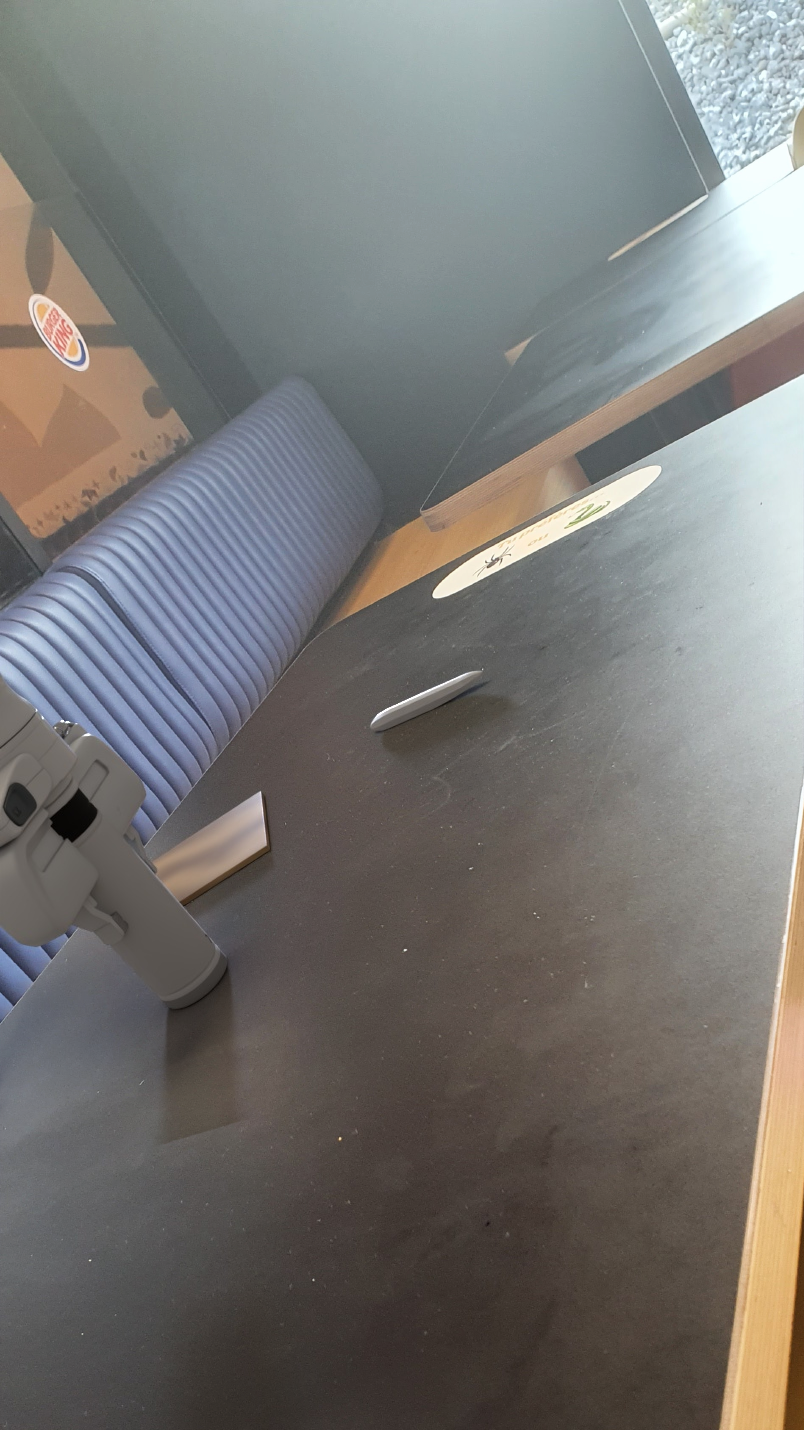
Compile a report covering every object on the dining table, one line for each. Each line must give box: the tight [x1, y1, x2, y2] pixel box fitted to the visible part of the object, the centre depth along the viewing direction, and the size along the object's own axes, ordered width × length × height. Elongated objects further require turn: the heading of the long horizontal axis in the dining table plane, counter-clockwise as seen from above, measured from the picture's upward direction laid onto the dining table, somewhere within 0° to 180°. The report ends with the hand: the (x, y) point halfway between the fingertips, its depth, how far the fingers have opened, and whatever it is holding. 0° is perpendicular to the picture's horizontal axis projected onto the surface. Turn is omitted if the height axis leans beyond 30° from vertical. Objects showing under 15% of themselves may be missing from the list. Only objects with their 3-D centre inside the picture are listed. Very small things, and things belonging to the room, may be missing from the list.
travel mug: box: [50, 788, 228, 1010], centre depth 91 cm, size 6×7×20 cm
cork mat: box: [151, 790, 271, 907], centre depth 116 cm, size 14×14×1 cm
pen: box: [369, 670, 484, 732], centre depth 116 cm, size 2×14×2 cm, turn 79°
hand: (134, 908), depth 92 cm, fingers closed on travel mug, 6 cm apart
